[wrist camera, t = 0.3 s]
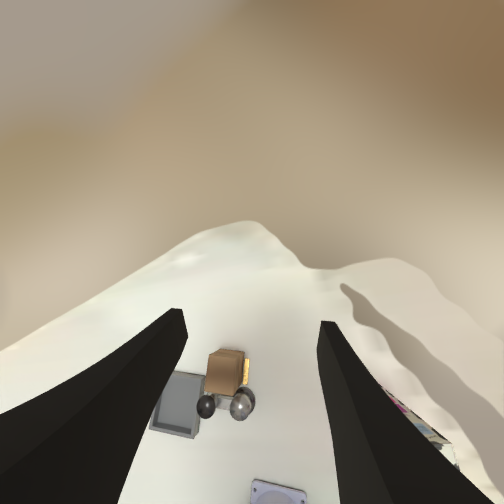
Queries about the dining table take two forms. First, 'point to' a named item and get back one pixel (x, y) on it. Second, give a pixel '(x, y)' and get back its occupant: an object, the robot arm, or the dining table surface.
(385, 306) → the dining table surface
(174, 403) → the tray
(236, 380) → the block
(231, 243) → the dining table surface
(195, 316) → the dining table surface
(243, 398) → the crank lever
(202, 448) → the dining table surface
